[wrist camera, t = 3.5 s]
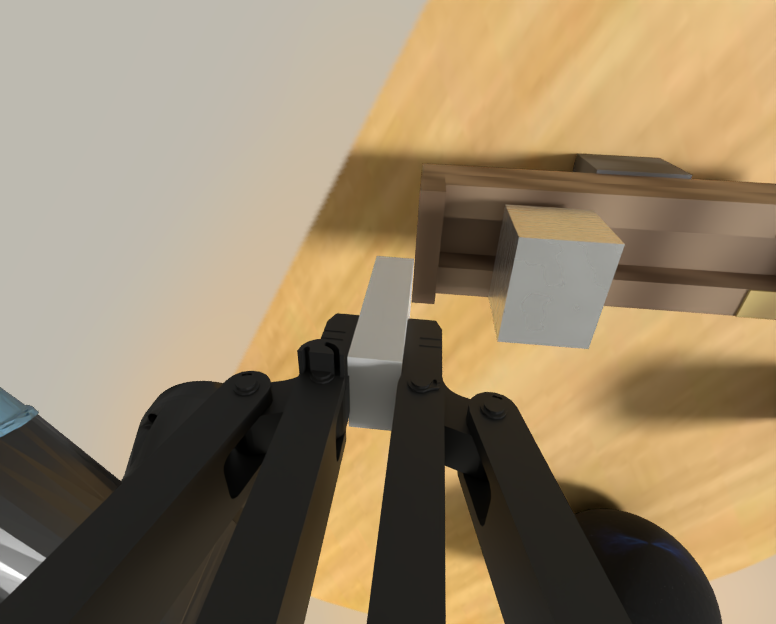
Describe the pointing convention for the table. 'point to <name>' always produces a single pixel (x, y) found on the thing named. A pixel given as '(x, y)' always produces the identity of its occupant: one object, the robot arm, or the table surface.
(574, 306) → the block
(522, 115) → the table surface
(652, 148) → the table surface
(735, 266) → the beam
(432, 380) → the robot arm
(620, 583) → the decorative sphere
